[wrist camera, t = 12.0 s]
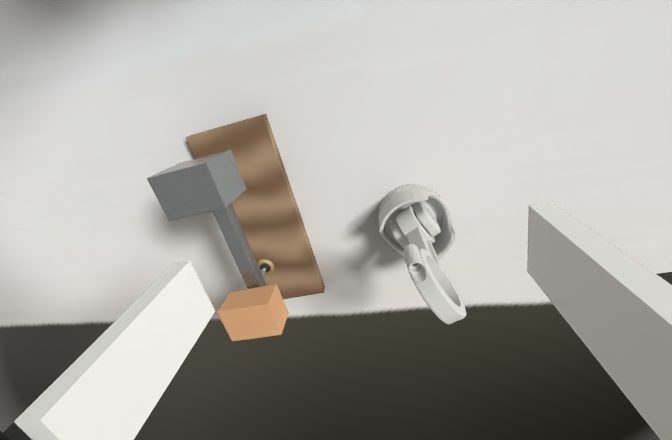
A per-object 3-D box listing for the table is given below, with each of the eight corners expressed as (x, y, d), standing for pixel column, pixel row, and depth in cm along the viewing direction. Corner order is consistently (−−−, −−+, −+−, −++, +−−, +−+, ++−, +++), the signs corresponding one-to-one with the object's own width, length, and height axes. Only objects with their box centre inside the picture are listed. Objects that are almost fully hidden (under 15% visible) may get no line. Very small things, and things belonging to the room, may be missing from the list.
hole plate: (190, 135, 46) (184, 137, 44) (265, 113, 43) (262, 115, 42) (262, 297, 57) (259, 303, 56) (324, 287, 55) (323, 293, 53)
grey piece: (208, 150, 45) (146, 178, 32) (252, 137, 43) (205, 162, 31) (270, 296, 55) (242, 360, 43) (308, 290, 54) (290, 354, 41)
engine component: (419, 170, 45) (364, 210, 48) (455, 236, 26) (362, 294, 30) (461, 224, 47) (406, 258, 51) (519, 318, 29) (427, 362, 32)
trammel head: (251, 257, 51) (216, 311, 39) (291, 250, 50) (267, 303, 38) (262, 282, 53) (232, 341, 41) (301, 275, 52) (281, 334, 40)
